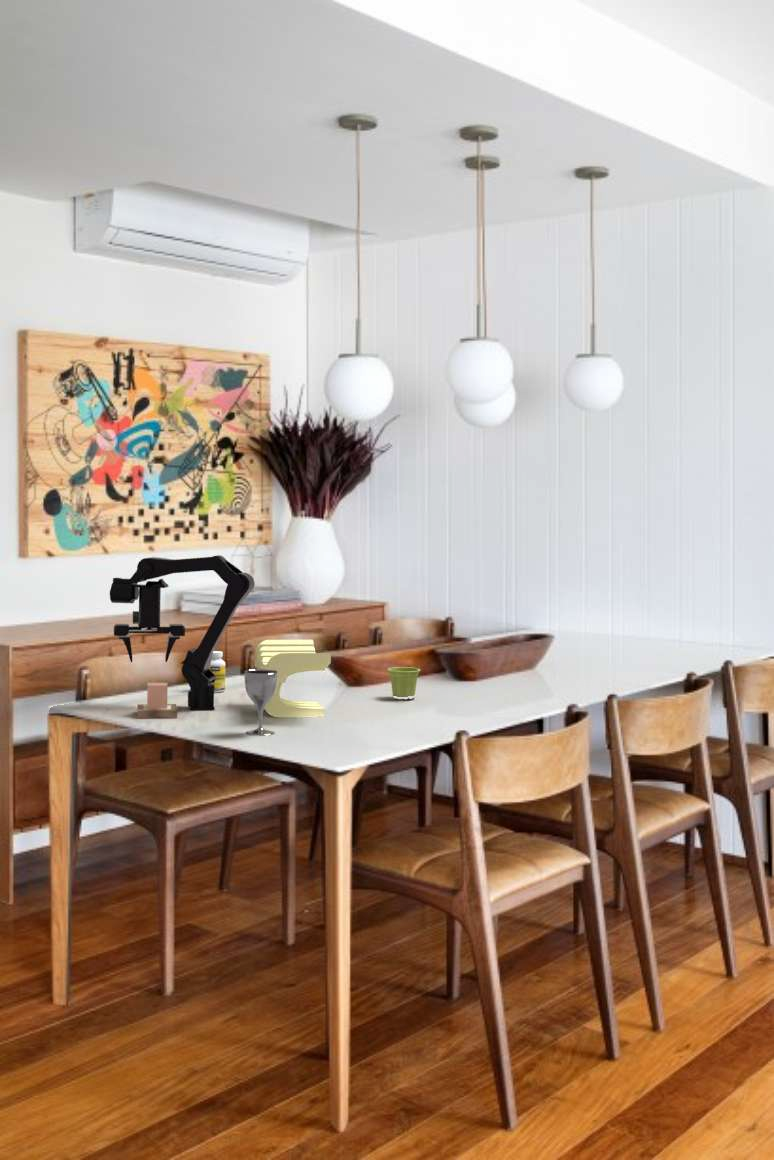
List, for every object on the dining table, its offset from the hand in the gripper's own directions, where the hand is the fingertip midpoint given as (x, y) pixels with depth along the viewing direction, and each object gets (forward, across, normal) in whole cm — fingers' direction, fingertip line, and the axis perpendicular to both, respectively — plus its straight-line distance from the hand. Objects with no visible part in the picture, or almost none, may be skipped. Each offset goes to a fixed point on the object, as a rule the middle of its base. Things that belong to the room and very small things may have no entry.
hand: (148, 661), depth 348 cm
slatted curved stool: (+12, -37, +13) cm, 41 cm away
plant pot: (+12, -72, -7) cm, 74 cm away
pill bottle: (+12, -20, -25) cm, 34 cm away
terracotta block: (+10, -2, +14) cm, 17 cm away
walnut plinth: (+12, -2, +14) cm, 18 cm away
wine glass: (+12, -25, +42) cm, 50 cm away
